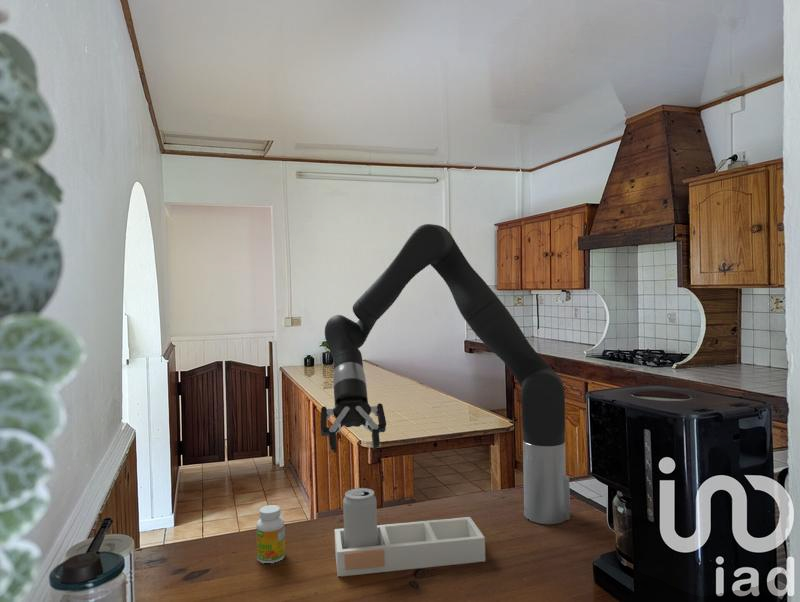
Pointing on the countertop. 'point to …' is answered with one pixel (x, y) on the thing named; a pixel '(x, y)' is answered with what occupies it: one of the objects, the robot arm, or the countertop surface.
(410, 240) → the robot arm
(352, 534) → the beverage can
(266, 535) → the supplement bottle
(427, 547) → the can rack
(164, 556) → the countertop surface
